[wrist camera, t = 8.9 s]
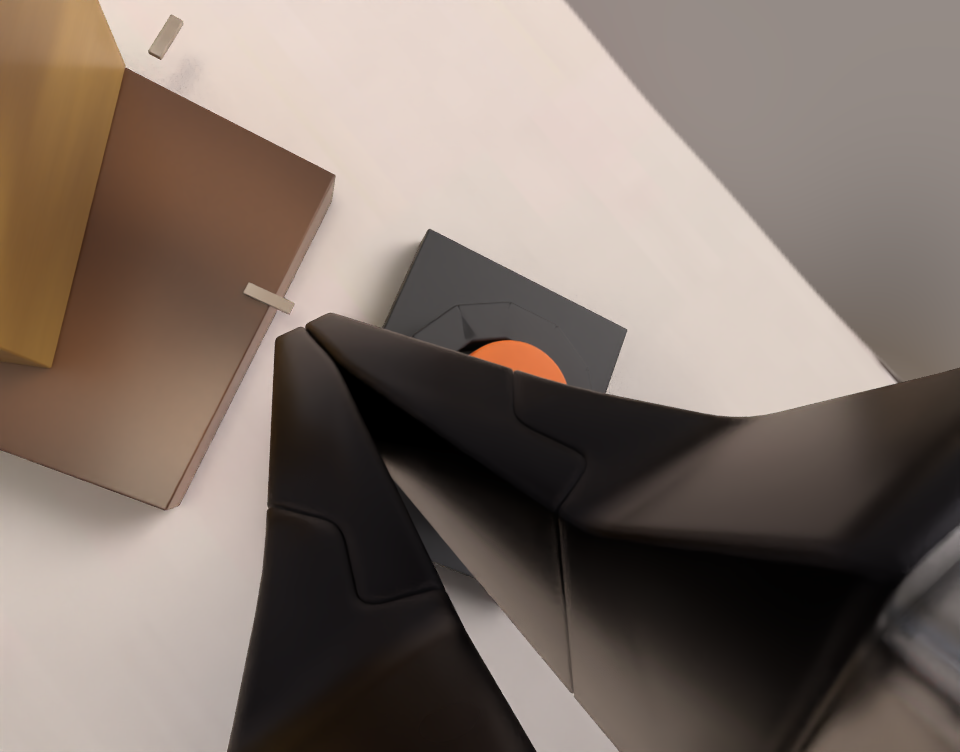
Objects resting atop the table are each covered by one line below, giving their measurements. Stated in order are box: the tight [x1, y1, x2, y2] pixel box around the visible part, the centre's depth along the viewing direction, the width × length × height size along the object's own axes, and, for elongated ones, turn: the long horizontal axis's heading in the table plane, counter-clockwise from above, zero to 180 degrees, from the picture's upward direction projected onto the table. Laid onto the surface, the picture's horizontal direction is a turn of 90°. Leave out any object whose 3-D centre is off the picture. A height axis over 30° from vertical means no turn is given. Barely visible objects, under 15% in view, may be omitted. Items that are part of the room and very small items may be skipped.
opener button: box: [469, 340, 567, 384], centre depth 18 cm, size 4×4×2 cm
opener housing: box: [382, 229, 627, 579], centre depth 20 cm, size 10×8×3 cm
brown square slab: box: [0, 15, 335, 510], centre depth 18 cm, size 13×13×2 cm
